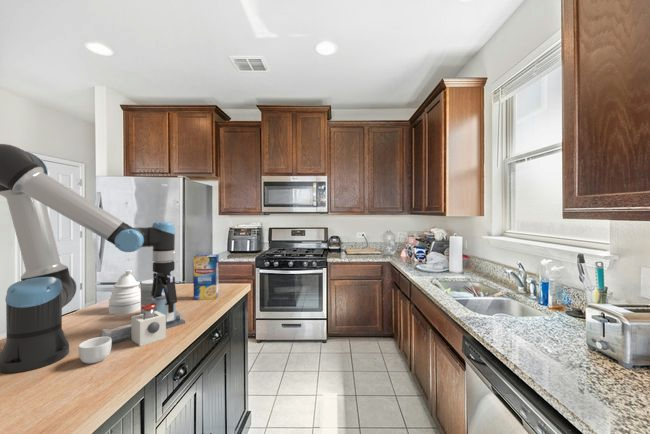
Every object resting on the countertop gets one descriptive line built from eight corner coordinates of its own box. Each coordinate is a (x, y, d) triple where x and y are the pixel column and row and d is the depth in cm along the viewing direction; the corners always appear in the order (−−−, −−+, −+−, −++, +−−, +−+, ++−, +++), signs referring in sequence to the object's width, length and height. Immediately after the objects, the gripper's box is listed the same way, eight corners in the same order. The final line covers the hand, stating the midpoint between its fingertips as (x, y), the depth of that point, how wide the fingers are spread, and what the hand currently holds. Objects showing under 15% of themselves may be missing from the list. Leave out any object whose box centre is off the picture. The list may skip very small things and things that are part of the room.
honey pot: (149, 307, 135) (149, 269, 135) (118, 316, 123) (118, 274, 123) (133, 303, 141) (133, 266, 141) (102, 311, 129) (102, 271, 129)
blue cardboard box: (216, 299, 149) (216, 256, 149) (193, 300, 147) (193, 256, 147) (218, 295, 156) (218, 254, 156) (197, 296, 154) (197, 254, 154)
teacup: (100, 366, 83) (100, 347, 83) (71, 367, 82) (71, 348, 82) (121, 350, 93) (121, 333, 93) (95, 351, 92) (95, 334, 92)
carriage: (156, 324, 110) (156, 299, 110) (151, 321, 113) (151, 297, 113) (175, 319, 116) (175, 296, 116) (170, 316, 119) (170, 294, 118)
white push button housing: (140, 346, 95) (140, 322, 95) (131, 339, 100) (131, 316, 100) (166, 338, 101) (166, 315, 101) (156, 332, 107) (156, 310, 107)
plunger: (144, 330, 98) (144, 308, 98) (139, 326, 101) (139, 305, 101) (158, 326, 101) (158, 304, 101) (153, 323, 104) (153, 302, 104)
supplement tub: (169, 315, 125) (169, 281, 125) (143, 320, 119) (143, 284, 118) (162, 309, 132) (162, 277, 132) (138, 314, 126) (138, 280, 125)
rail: (109, 344, 96) (109, 335, 96) (100, 336, 103) (100, 328, 103) (185, 323, 116) (185, 315, 116) (173, 317, 122) (173, 310, 122)
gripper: (187, 263, 110) (187, 321, 110) (161, 257, 124) (161, 309, 124) (166, 265, 104) (166, 327, 104) (142, 259, 118) (141, 313, 119)
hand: (163, 317), depth 114 cm, fingers open, 10 cm apart
